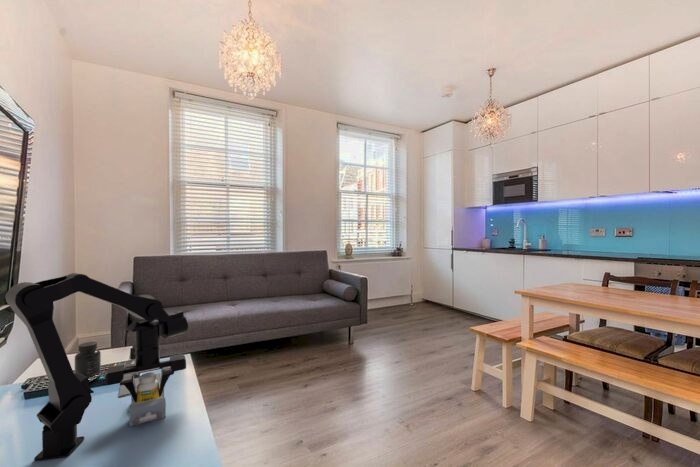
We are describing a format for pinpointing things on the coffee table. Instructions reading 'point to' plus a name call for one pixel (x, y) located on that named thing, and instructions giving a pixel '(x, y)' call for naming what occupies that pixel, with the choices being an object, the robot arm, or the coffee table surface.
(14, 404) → the coffee table surface
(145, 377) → the supplement bottle
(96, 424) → the coffee table surface
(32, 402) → the coffee table surface
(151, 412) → the vise
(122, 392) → the white flat square
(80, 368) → the supplement bottle
